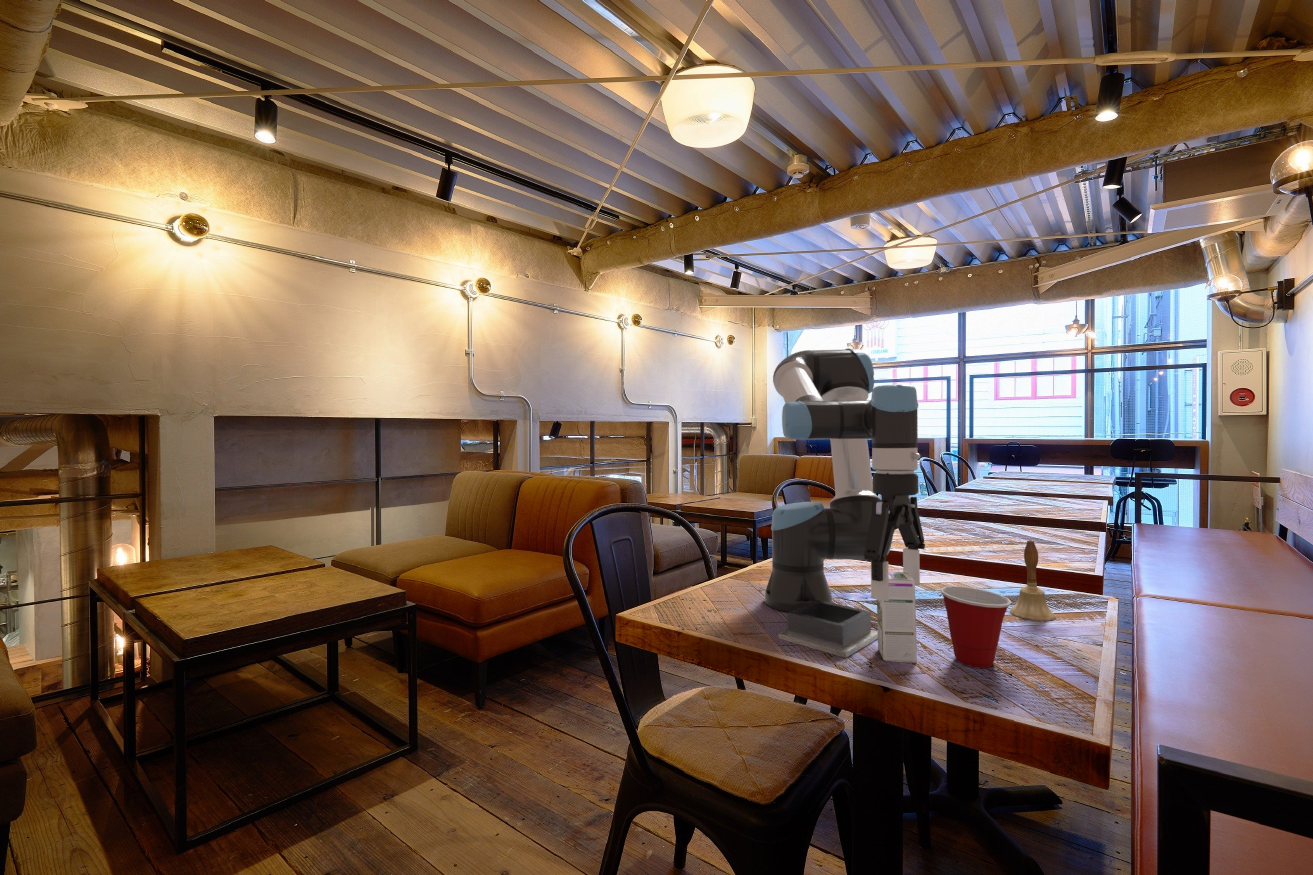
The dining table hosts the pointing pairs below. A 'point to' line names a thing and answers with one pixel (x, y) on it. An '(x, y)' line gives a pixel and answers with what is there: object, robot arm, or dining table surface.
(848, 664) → the dining table surface
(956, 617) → the plastic cup
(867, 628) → the grey shallow open box
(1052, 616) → the hand bell
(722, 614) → the dining table surface
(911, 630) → the syrup box
